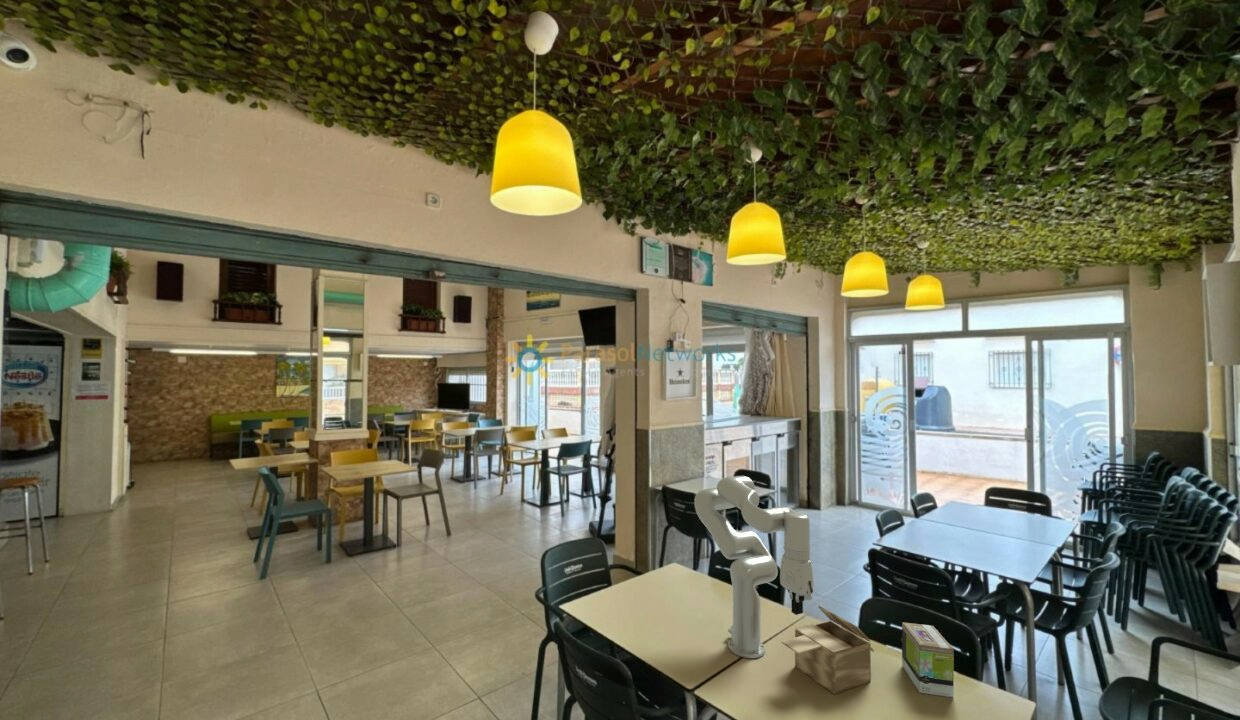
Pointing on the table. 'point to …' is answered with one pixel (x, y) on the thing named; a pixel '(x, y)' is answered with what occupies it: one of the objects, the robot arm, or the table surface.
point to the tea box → (928, 659)
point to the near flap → (815, 640)
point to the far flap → (845, 624)
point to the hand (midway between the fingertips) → (797, 612)
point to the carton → (837, 661)
